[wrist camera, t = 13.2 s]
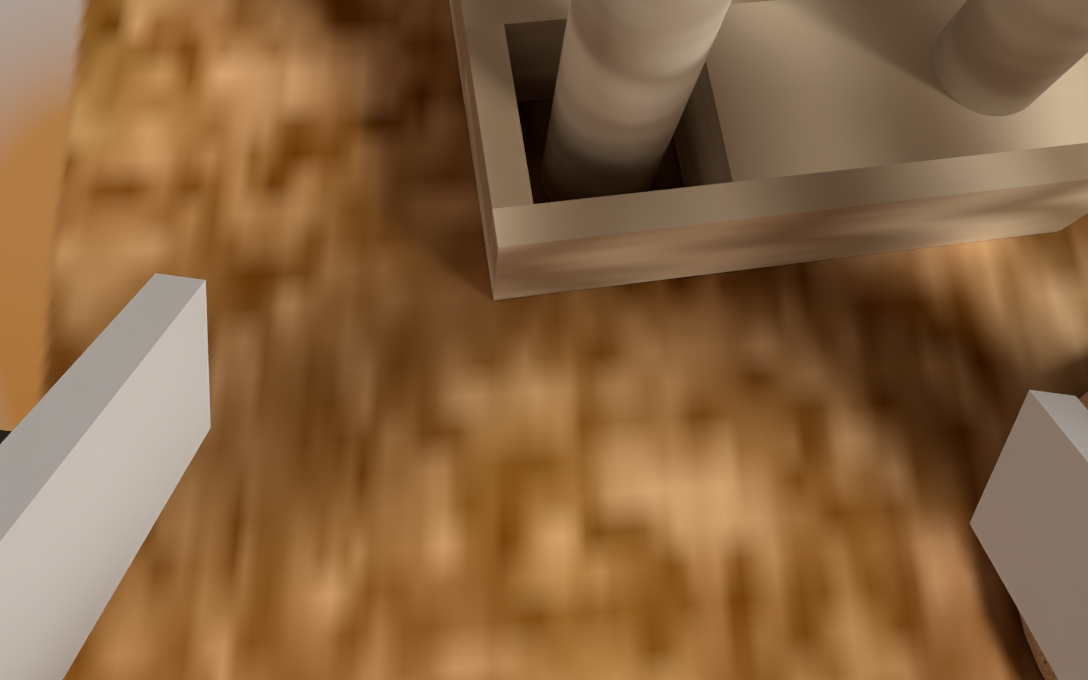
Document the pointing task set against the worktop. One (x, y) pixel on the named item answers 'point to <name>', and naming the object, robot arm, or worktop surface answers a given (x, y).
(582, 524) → the worktop surface
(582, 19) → the stool leg
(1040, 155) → the stool
